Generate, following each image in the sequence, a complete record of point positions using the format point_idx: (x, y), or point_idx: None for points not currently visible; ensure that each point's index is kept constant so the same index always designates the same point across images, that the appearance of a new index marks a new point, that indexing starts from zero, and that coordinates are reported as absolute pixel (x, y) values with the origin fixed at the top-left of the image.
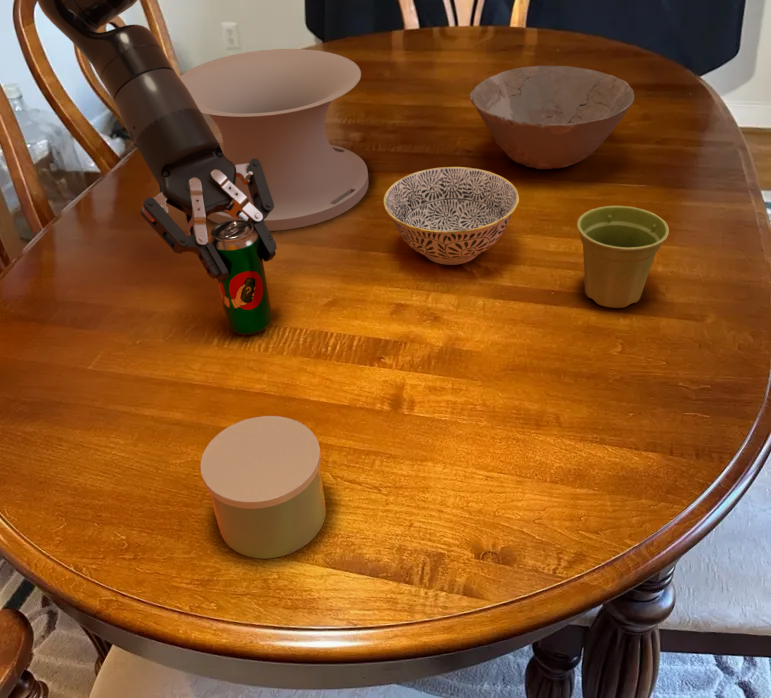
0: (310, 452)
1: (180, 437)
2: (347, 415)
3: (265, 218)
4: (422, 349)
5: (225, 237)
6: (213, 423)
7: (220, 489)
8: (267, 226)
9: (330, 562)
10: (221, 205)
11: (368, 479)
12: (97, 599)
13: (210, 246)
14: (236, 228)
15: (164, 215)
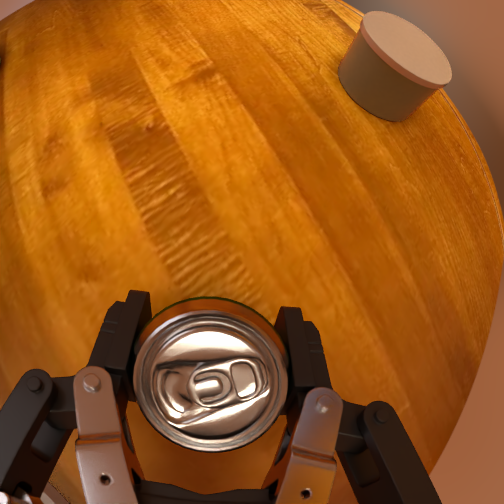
0: (375, 16)
1: (402, 213)
2: (255, 95)
3: (43, 495)
4: (109, 108)
5: (262, 360)
6: (370, 201)
7: (442, 55)
8: (48, 487)
9: None
10: (182, 488)
11: (298, 49)
12: (476, 144)
13: (304, 378)
14: (194, 381)
15: (413, 497)
